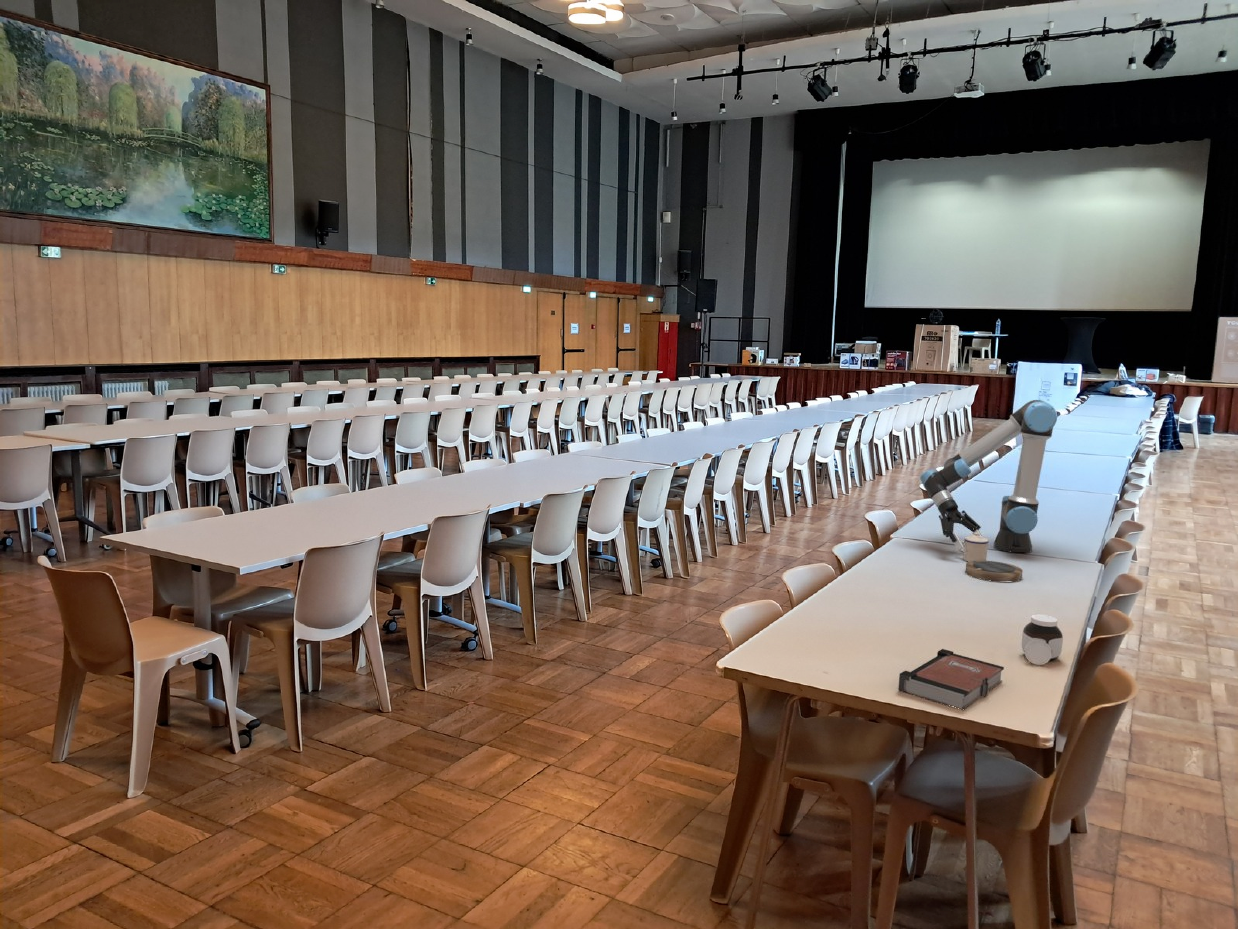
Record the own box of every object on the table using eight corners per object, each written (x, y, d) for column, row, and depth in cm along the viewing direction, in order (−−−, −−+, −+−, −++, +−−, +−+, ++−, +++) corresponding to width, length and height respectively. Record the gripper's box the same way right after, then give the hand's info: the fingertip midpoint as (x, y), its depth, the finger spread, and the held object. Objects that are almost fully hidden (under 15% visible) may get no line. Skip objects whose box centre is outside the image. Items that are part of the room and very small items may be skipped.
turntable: (988, 565, 358) (988, 557, 357) (1033, 578, 341) (1034, 569, 340) (954, 571, 348) (954, 563, 347) (998, 585, 331) (999, 576, 330)
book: (965, 713, 220) (967, 693, 219) (898, 692, 231) (899, 673, 230) (1005, 684, 239) (1006, 666, 238) (941, 666, 250) (942, 648, 250)
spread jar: (1050, 652, 262) (1054, 614, 260) (1071, 667, 251) (1075, 627, 249) (1010, 652, 261) (1013, 613, 259) (1029, 667, 250) (1033, 626, 248)
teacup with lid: (989, 560, 366) (991, 532, 365) (983, 565, 359) (986, 536, 357) (958, 555, 373) (960, 528, 371) (952, 560, 366) (955, 532, 364)
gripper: (959, 506, 384) (986, 548, 373) (918, 510, 372) (945, 554, 361) (971, 496, 379) (998, 538, 368) (930, 500, 366) (957, 544, 356)
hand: (972, 546), depth 365 cm, fingers open, 13 cm apart
